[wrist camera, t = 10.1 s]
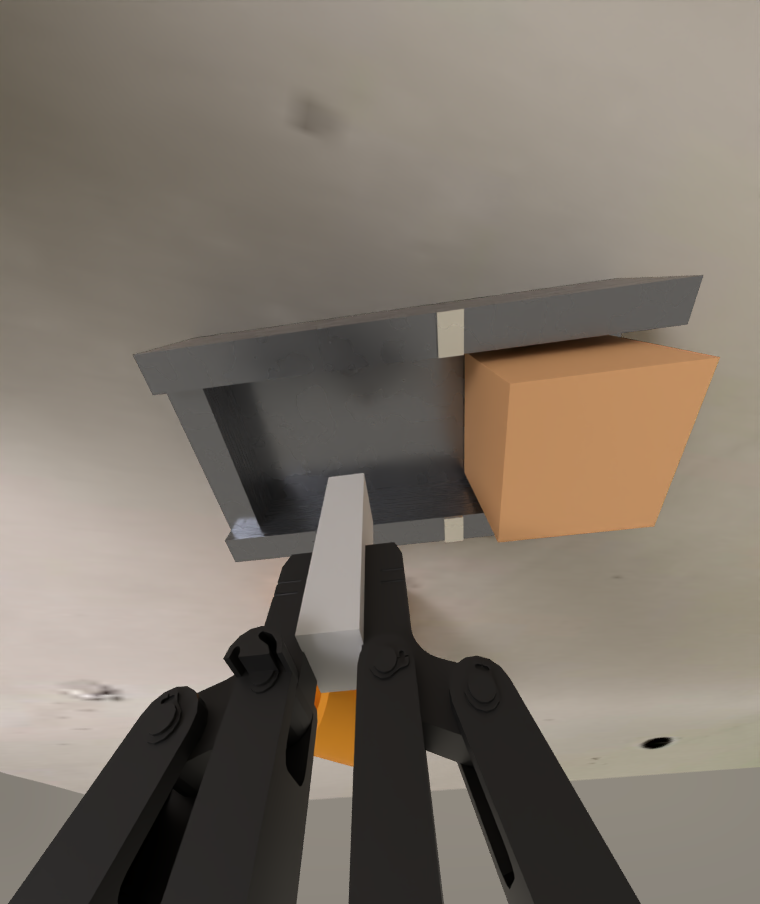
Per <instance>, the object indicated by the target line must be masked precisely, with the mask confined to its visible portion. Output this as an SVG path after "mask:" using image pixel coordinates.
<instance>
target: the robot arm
mask: <svg viewBox="0 0 760 904" xmlns="http://www.w3.org/2000/svg"><path fill="white" fill-rule="evenodd" d="M223 659H224V660H225V662H226V663H227V664H228V666H229V667H230V669H231V670H232V672H233V673H234V676H232V677H230V678H228V679H227V680H225V681H223V682H220V683H218V684H216V685H214V686H212V687H209V688H207V689H205V690H203V691H201V692H198V693H196V692H195V691H194V690H193V689H191V688H189V687H188V686H184V687H176V688H173V689H171V690H169V691H167V692H165V693H163V694H162V695H161V696H159V697H158V698H157V699H156V700H154V701H153V702H152V703H151V704H150V705H149V707H148V708H147V709H146V710H145V711H144V712H143V714H142V715H141V716H140V717H139V719H138V720H137V722H136V723H135V724H134V726H133V727H132V729H131V730H130V732H129V733H128V734H127V736H126V737H125V739H124V740H123V742H122V743H121V744H120V746H119V747H118V749H117V750H116V751H115V753H114V754H113V756H112V757H111V759H110V760H109V761H108V763H107V764H106V766H105V767H104V768H103V770H102V771H101V773H100V774H99V776H98V777H97V778H96V780H95V781H94V783H93V784H92V786H91V787H90V788H89V790H88V791H87V793H86V794H85V796H84V797H83V798H82V800H81V801H80V803H79V804H78V806H77V807H76V808H75V810H74V811H73V812H72V814H71V815H70V817H69V818H68V820H67V821H66V822H65V824H64V825H63V827H62V828H61V830H60V831H59V832H58V834H57V835H56V837H55V838H54V839H53V841H52V842H51V844H50V845H49V847H48V848H47V849H46V851H45V852H44V854H43V855H42V856H41V858H40V859H39V861H38V862H37V864H36V865H35V867H34V868H33V869H32V871H31V872H30V874H29V875H28V877H27V878H26V880H25V881H24V882H23V884H22V885H21V887H20V888H19V889H18V891H17V892H16V893H15V895H14V896H13V898H12V899H11V900H10V902H9V903H8V904H296V901H297V893H298V884H299V876H300V867H301V859H302V850H303V842H304V841H303V840H304V833H305V824H306V816H307V808H308V799H309V791H310V782H311V774H312V765H313V756H314V748H315V739H316V731H317V722H318V720H317V709H316V707H315V705H314V702H315V694H316V687H317V686H318V688H319V690H320V692H321V693H327V692H337V691H347V690H356V714H355V741H354V769H353V797H352V826H351V853H350V882H349V904H444V901H443V893H442V884H441V875H440V867H439V858H438V850H437V842H436V833H435V825H434V816H433V807H432V799H431V790H430V782H429V773H428V765H427V756H426V751H429V752H432V753H434V754H437V755H440V756H442V757H445V758H448V759H450V760H453V761H456V762H457V763H458V766H459V769H460V771H461V774H462V777H463V780H464V782H465V785H466V788H467V790H468V793H469V796H470V799H471V802H472V804H473V807H474V810H475V813H476V815H477V818H478V821H479V824H480V826H481V829H482V832H483V835H484V837H485V840H486V843H487V846H488V848H489V851H490V854H491V857H492V859H493V862H494V865H495V868H496V870H497V873H498V876H499V879H500V881H501V884H502V887H503V889H504V892H505V895H506V898H507V901H508V903H509V904H640V902H639V900H638V898H637V896H636V895H635V893H634V891H633V890H632V888H631V886H630V885H629V883H628V881H627V879H626V878H625V876H624V874H623V872H622V871H621V869H620V867H619V865H618V864H617V862H616V860H615V859H614V857H613V855H612V854H611V852H610V850H609V848H608V846H607V845H606V843H605V842H604V840H603V838H602V836H601V834H600V833H599V831H598V829H597V828H596V826H595V824H594V822H593V821H592V819H591V817H590V815H589V814H588V812H587V810H586V809H585V807H584V805H583V803H582V802H581V800H580V798H579V797H578V795H577V793H576V792H575V790H574V788H573V786H572V784H571V783H570V781H569V779H568V778H567V776H566V774H565V772H564V771H563V769H562V767H561V766H560V764H559V762H558V760H557V759H556V757H555V755H554V753H553V752H552V750H551V748H550V747H549V745H548V743H547V741H546V740H545V738H544V736H543V735H542V733H541V731H540V729H539V728H538V726H537V724H536V722H535V721H534V719H533V717H532V716H531V714H530V712H529V710H528V709H527V707H526V705H525V704H524V702H523V700H522V698H521V697H520V695H519V693H518V691H517V690H516V688H515V686H514V685H513V683H512V681H511V679H510V678H509V677H508V675H507V674H506V673H505V672H504V670H503V669H502V668H501V667H500V666H499V665H497V664H496V663H494V662H493V661H491V660H490V659H487V658H483V657H479V656H473V657H466V658H464V659H463V660H461V661H460V662H458V663H456V662H452V661H448V660H445V659H441V658H438V657H435V656H433V655H430V654H429V653H427V652H426V651H424V650H423V649H422V648H421V647H420V646H419V645H418V643H417V642H416V640H415V638H414V637H413V635H412V630H411V623H410V614H409V606H408V597H407V589H406V581H405V573H404V565H403V558H402V553H401V551H400V550H399V548H398V547H397V545H396V544H395V542H390V543H381V544H373V519H372V514H371V508H370V503H369V497H368V492H367V486H366V481H365V475H364V473H359V474H351V475H343V476H335V477H329V478H328V482H327V487H326V492H325V497H324V501H323V506H322V511H321V515H320V520H319V525H318V529H317V534H316V539H315V544H314V548H313V552H310V553H301V554H293V555H291V557H290V558H289V559H288V561H287V562H286V563H285V565H284V566H283V567H282V570H281V574H280V577H279V580H278V585H277V587H276V590H275V593H274V597H273V600H272V603H271V606H270V609H269V613H268V616H267V619H266V622H265V626H260V627H257V628H253V629H250V630H249V631H247V632H246V633H244V634H243V635H241V636H240V637H239V638H238V639H237V640H236V641H235V642H234V643H233V644H232V645H231V646H230V648H229V649H228V651H227V653H226V655H225V657H224V658H223Z"/></svg>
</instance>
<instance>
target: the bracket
mask: <svg viewBox="0 0 760 904" xmlns="http://www.w3.org/2000/svg"><path fill="white" fill-rule="evenodd" d="M314 705H315V707H316V709H317V720H318V722H317V731H316V739H315V748H314V756H316V757H320V758H323V759H327V760H330V761H334V762H338V763H341V764H345V765H349V766H353V767H354V741H355V714H356V690H347V691H337V692H327V693H321V692H320V690H319V688H318V686H317V687H316V694H315V702H314Z"/></svg>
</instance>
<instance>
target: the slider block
mask: <svg viewBox="0 0 760 904" xmlns="http://www.w3.org/2000/svg"><path fill="white" fill-rule="evenodd" d="M719 359H720V357H716V356H712V355H707V354H702V353H697V352H692V351H687V350H682V349H677V348H672V347H667V346H662V345H657V344H652V343H647V342H642V341H637V340H632V339H627V338H622V337H617V336H612V335H603V336H596V337H588V338H581V339H573V340H566V341H558V342H551V343H543V344H535V345H528V346H520V347H513V348H505V349H498V350H490V351H483V352H475V353H468V354H465V427H464V473H465V475H466V477H467V479H468V481H469V483H470V485H471V487H472V489H473V491H474V493H475V495H476V497H477V500H478V502H479V504H480V506H481V508H482V510H483V512H484V514H485V516H486V518H487V520H488V522H489V524H490V526H491V529H492V531H493V533H494V535H495V537H496V539H497V541H498V542H507V541H516V540H526V539H536V538H546V537H555V536H565V535H575V534H585V533H594V532H604V531H614V530H623V529H633V528H643V527H653V526H654V525H655V523H656V520H657V518H658V515H659V513H660V510H661V508H662V505H663V502H664V500H665V497H666V495H667V492H668V490H669V487H670V484H671V482H672V479H673V477H674V474H675V472H676V469H677V466H678V464H679V461H680V459H681V456H682V454H683V451H684V448H685V446H686V443H687V441H688V438H689V436H690V433H691V430H692V428H693V425H694V423H695V420H696V418H697V415H698V413H699V410H700V407H701V405H702V402H703V400H704V397H705V395H706V392H707V389H708V387H709V384H710V382H711V379H712V377H713V374H714V371H715V369H716V366H717V364H718V361H719Z"/></svg>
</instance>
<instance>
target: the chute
mask: <svg viewBox="0 0 760 904" xmlns="http://www.w3.org/2000/svg"><path fill="white" fill-rule="evenodd" d="M702 278H703V275H693V276H668V277H642V278H617V279H609V280H602V281H595V282H588V283H580V284H573V285H566V286H559V287H552V288H545V289H538V290H531V291H524V292H517V293H509V294H502V295H495V296H488V297H481V298H474V299H467V300H460V301H453V302H446V303H439V304H431V305H424V306H417V307H410V308H403V309H396V310H389V311H382V312H375V313H368V314H360V315H353V316H346V317H339V318H332V319H325V320H318V321H311V322H304V323H297V324H290V325H282V326H275V327H268V328H261V329H254V330H247V331H240V332H233V333H226V334H219V335H211V336H204V337H197V338H192V339H188V340H185V341H181V342H177V343H174V344H170V345H166V346H163V347H159V348H156V349H152V350H148V351H145V352H141V353H137V354H134V355H133V356H134V358H135V360H136V362H137V364H138V366H139V368H140V370H141V372H142V374H143V376H144V378H145V380H146V382H147V384H148V386H149V388H150V390H151V392H152V394H153V395H158V394H166V393H167V395H168V397H169V399H170V401H171V403H172V406H173V408H174V410H175V412H176V414H177V416H178V418H179V420H180V422H181V425H182V427H183V429H184V431H185V433H186V435H187V437H188V439H189V442H190V444H191V446H192V448H193V450H194V452H195V454H196V456H197V459H198V461H199V463H200V465H201V467H202V469H203V471H204V473H205V475H206V478H207V480H208V482H209V484H210V486H211V488H212V490H213V492H214V495H215V497H216V499H217V501H218V503H219V505H220V507H221V509H222V511H223V514H224V516H225V518H226V520H227V522H228V524H229V526H230V528H231V532H230V533H229V535H228V537H227V538H226V540H225V542H226V544H227V546H228V548H229V550H230V552H231V554H232V556H233V558H234V560H235V562H242V561H251V560H261V559H271V558H280V557H290V556H291V555H293V554H301V553H310V552H313V548H314V544H315V539H316V534H317V529H318V525H319V520H320V515H321V511H322V506H323V501H324V497H325V492H326V487H327V482H328V478H329V477H335V476H343V475H351V474H359V473H364V475H365V481H366V486H367V492H368V497H369V503H370V508H371V514H372V519H373V544H381V543H390V542H395V544H396V545H405V544H415V543H425V542H434V541H444V540H445V543H447V542H456V541H463V538H473V537H483V536H492V535H494V533H493V531H492V529H491V526H490V524H489V522H488V520H487V518H486V516H485V514H484V512H483V510H482V508H481V506H480V504H479V502H478V500H477V497H476V495H475V493H474V491H473V489H472V487H471V485H470V483H469V481H468V479H467V477H466V475H465V473H464V427H465V354H468V353H475V352H483V351H490V350H498V349H505V348H513V347H520V346H528V345H535V344H543V343H551V342H558V341H566V340H573V339H581V338H588V337H596V336H603V335H612V336H617V337H621V334H622V333H626V332H634V331H641V330H649V329H656V328H664V327H671V326H679V325H686V324H688V321H689V318H690V315H691V312H692V309H693V306H694V303H695V299H696V296H697V293H698V290H699V287H700V284H701V281H702Z"/></svg>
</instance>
